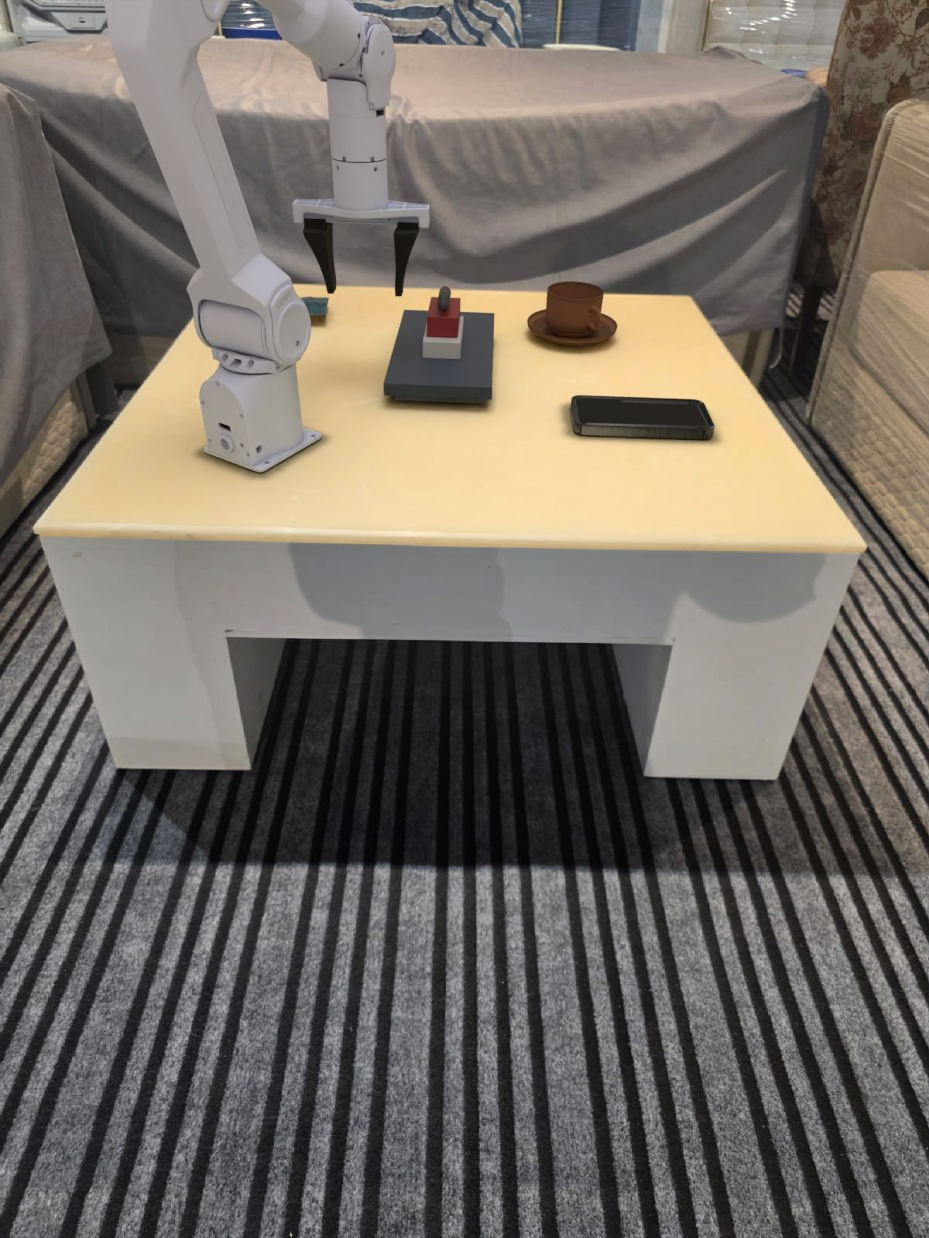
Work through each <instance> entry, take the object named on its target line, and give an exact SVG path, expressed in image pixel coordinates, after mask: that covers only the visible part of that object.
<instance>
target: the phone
mask: <svg viewBox="0 0 929 1238" xmlns="http://www.w3.org/2000/svg"><path fill="white" fill-rule="evenodd" d="M570 414H571V415H570V416H571V421H572V427H573V431H574V432H575V433H576V434H578V435H581V436H602V437H628V438H629V437H630V438H632V437H633V438H656V439H657V438H658V439H659V438H660V439H683V440H684V439H685V440H709V439H711V438H713V436H714V431H715V426H716V425H715V423H714V421H713V419H712V417H711V414H710V412H709V410H708V408H707V405H706V403H704V402H703V401H702V400H699V399H695V398H673V397H645V396H644V397H643V396H642V397H641V396H616V395H615V396H614V395H592V394H591V395H588V394H576V395H573V396H571V400H570Z"/></svg>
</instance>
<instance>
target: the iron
mask: <svg viewBox="0 0 929 1238" xmlns="http://www.w3.org/2000/svg"><path fill="white" fill-rule="evenodd" d="M451 295H452V290H451V288H450V287H449V286H446V285H443V286H441V287H440V288H439V291H438V296H431V297H430V301H429V305H428V309H427V311H428V314H427V323H426V328H425V333H424V338H423V358H437V359H460V356H461V348H462V339H463V322H464V316H460V312H461V300H462V299H461V298H460V297H451Z"/></svg>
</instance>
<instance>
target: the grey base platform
mask: <svg viewBox="0 0 929 1238" xmlns="http://www.w3.org/2000/svg"><path fill="white" fill-rule="evenodd" d="M402 312H403V313H402V316H401V320H400V323H399V327H398V329H397V333H396V338H395V341H394V344H393V348H392V351H391V356H390V359H389V362H388V365H387V366H388V367H387V369H386V373H385V377H384V380H383V396H386V397H394V399H395V401H401V402H402V401H405V402H407V401H408V402H428V403H429V402H430V403H454V404H455V403H456V404H480V405H482V404H483V401H484V400H487V401H489V400H491V401H492V399H493V398H492V396H493V375H494V374H493V373H494V372H493V371H494V370H493V369H494V341H495V340H494V339H495V312H479V311H477V312H476V311H475V312H474V311H460V316H464V322H463V339H462V348H461V356H460V359H437V358H423V338H424V333H425V328H426V323H427V314H428V310H424V309H404V310H403V311H402Z"/></svg>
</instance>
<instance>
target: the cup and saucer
mask: <svg viewBox="0 0 929 1238" xmlns="http://www.w3.org/2000/svg"><path fill="white" fill-rule="evenodd" d="M604 294H605V292H604V290H603V288H602V287H600V286H598V285H596V284H593V283H590V282H584V281H577V280H576V281H575V280H570V281H569V280H567V281H558V282H554V283H552V284H550V285H549V286H547V289H546V303H545V309H541V310H537V311H535V312H533V313H531V314H530V315H528V317H527V321H526V323H527V327H528V329H529V330H530V331H531V333H533V334H534V335H535V336H536V337H538V338H539V339H542V340H543V341H546V342H549V343H552V344H556V345H562V346H570V347H571V346H572V347H573V346H574V347H584V346H590V345H591V346H592V345H597V344H599V343H602V342H605V341H607V340H608V339H610V338H611V337H613V336H614V335H615V334H616V332H617V330H618V323H617V321H616V320H615V319H614V318H613V317H611V316H609V315H608V314H605V313H602V308H603V302H604Z"/></svg>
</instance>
